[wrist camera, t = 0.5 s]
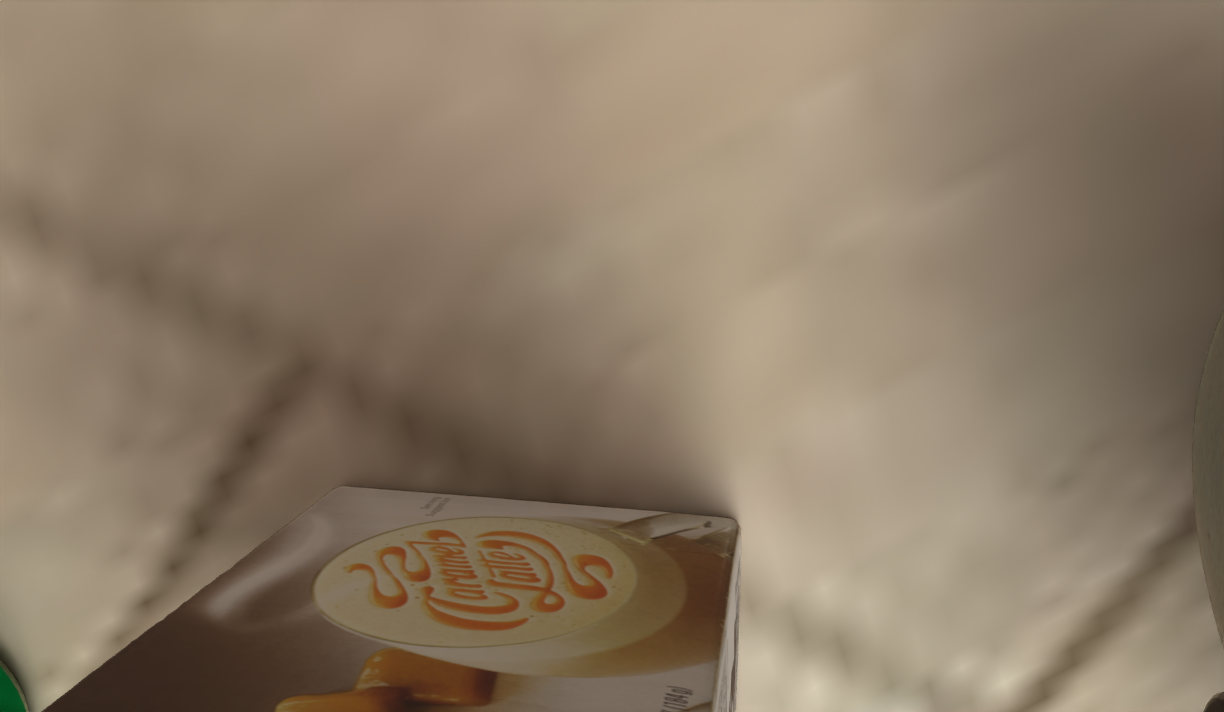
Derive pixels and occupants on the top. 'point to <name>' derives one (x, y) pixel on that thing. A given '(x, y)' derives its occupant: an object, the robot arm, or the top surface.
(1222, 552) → the flask
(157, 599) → the top surface
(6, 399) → the top surface
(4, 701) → the soda can
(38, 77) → the top surface
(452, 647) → the coffee box
